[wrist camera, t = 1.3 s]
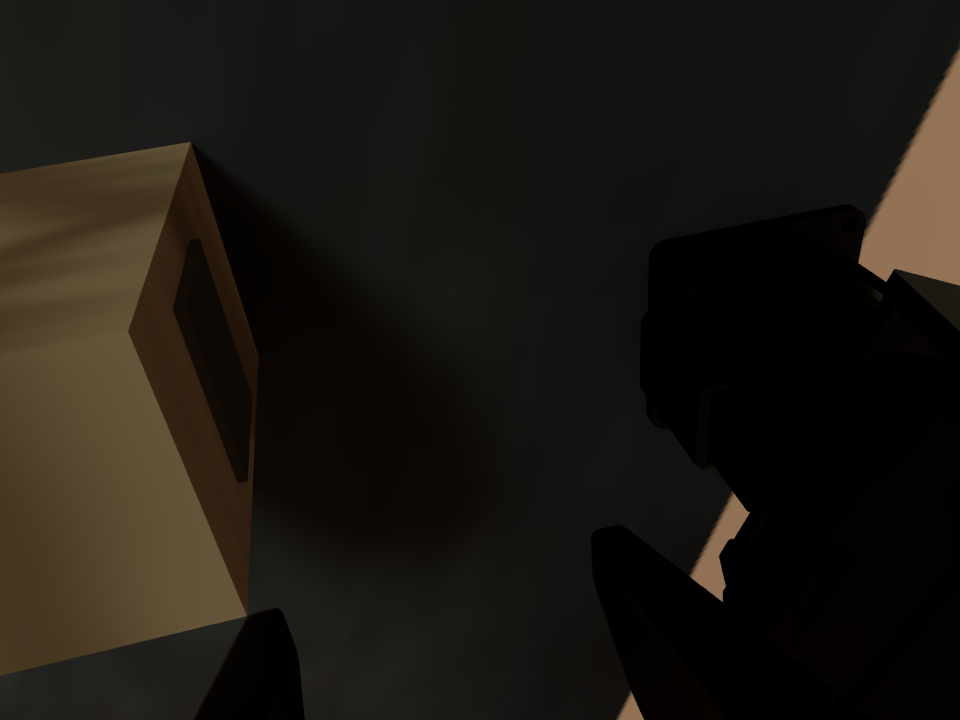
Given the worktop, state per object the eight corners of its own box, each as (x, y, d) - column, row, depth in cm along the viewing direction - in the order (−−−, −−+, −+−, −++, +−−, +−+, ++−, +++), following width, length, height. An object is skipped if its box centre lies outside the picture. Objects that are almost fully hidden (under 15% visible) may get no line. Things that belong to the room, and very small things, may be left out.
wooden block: (199, 140, 18) (143, 328, 11) (265, 354, 21) (258, 613, 14) (-36, 179, 17) (-271, 408, 10) (70, 394, 21) (-48, 687, 13)
